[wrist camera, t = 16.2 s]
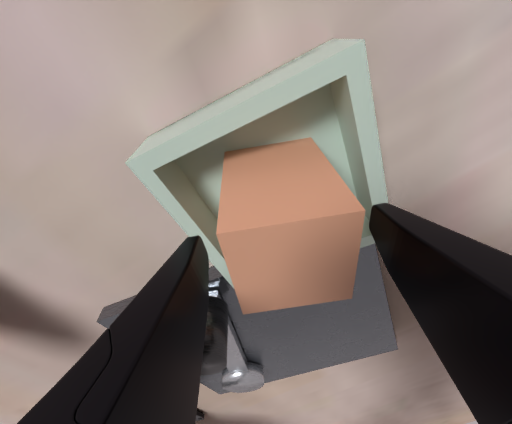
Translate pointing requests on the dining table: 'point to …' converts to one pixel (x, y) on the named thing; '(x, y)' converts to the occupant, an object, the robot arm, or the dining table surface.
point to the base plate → (304, 327)
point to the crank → (227, 351)
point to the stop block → (287, 227)
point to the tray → (269, 137)
